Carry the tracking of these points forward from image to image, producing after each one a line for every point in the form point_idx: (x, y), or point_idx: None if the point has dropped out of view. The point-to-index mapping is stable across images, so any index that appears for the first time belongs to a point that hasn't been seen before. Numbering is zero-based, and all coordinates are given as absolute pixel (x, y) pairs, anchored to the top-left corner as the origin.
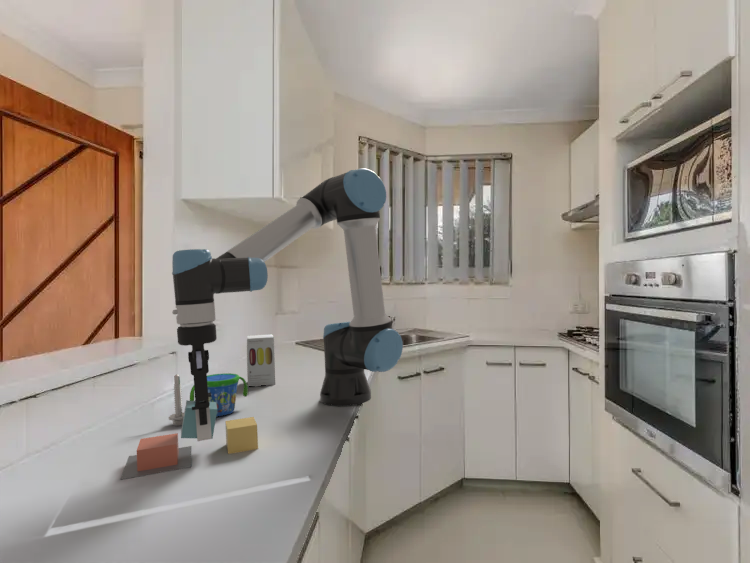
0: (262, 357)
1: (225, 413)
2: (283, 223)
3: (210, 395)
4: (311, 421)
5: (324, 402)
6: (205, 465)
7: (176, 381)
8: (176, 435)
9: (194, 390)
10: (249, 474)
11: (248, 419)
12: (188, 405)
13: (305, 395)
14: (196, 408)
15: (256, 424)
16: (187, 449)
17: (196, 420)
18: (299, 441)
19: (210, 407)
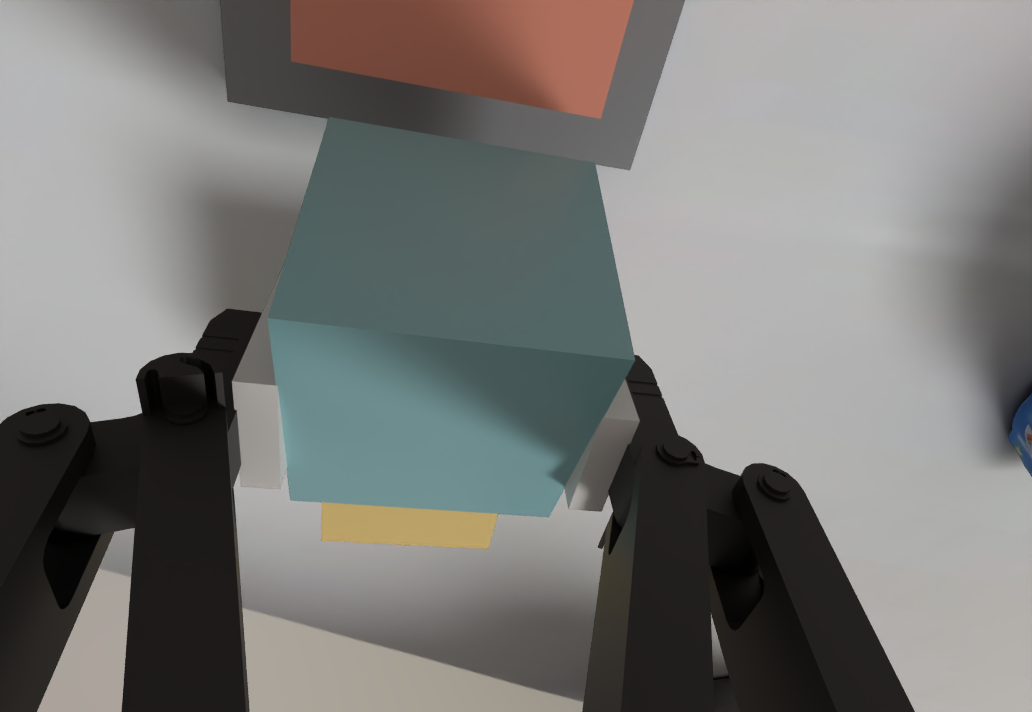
0: None
1: (1017, 419)
2: None
3: (601, 542)
4: (579, 618)
5: (729, 683)
6: (291, 184)
7: None
8: (542, 98)
9: (775, 491)
10: (56, 341)
11: (453, 526)
12: (394, 350)
13: (901, 660)
14: (38, 411)
15: (325, 539)
16: (579, 136)
17: (264, 313)
18: (379, 553)
19: (346, 475)
